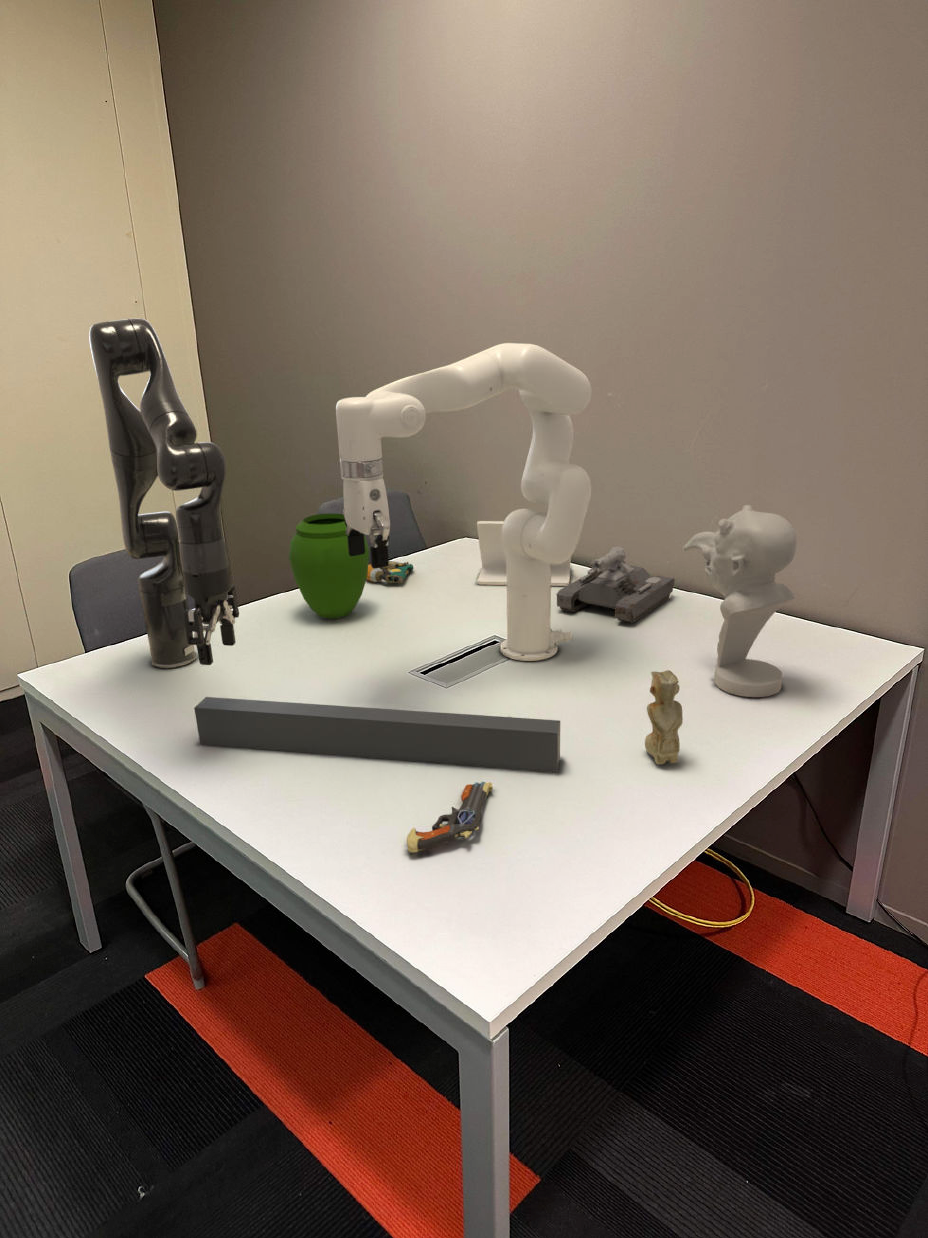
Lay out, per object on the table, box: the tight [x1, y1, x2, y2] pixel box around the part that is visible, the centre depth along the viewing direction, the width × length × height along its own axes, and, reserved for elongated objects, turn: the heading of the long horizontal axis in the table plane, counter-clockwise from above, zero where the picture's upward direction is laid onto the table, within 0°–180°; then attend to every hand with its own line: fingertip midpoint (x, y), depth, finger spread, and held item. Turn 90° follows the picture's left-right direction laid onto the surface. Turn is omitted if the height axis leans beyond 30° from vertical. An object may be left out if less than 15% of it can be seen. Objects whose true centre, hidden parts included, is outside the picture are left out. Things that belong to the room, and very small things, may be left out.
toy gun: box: [406, 781, 494, 853], centre depth 127 cm, size 3×19×10 cm
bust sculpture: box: [682, 504, 797, 698], centre depth 167 cm, size 16×24×35 cm, turn 28°
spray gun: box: [366, 560, 414, 584], centre depth 240 cm, size 4×17×15 cm
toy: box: [556, 546, 676, 624], centre depth 212 cm, size 25×20×15 cm
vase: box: [288, 512, 370, 620], centre depth 209 cm, size 20×20×24 cm
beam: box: [194, 696, 561, 773], centre depth 147 cm, size 64×4×7 cm, turn 79°
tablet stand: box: [476, 520, 572, 587], centre depth 236 cm, size 18×25×17 cm
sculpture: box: [644, 669, 684, 765], centre depth 141 cm, size 6×7×15 cm
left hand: (218, 654), depth 148 cm, fingers open, 8 cm apart
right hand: (368, 560), depth 158 cm, fingers open, 9 cm apart
